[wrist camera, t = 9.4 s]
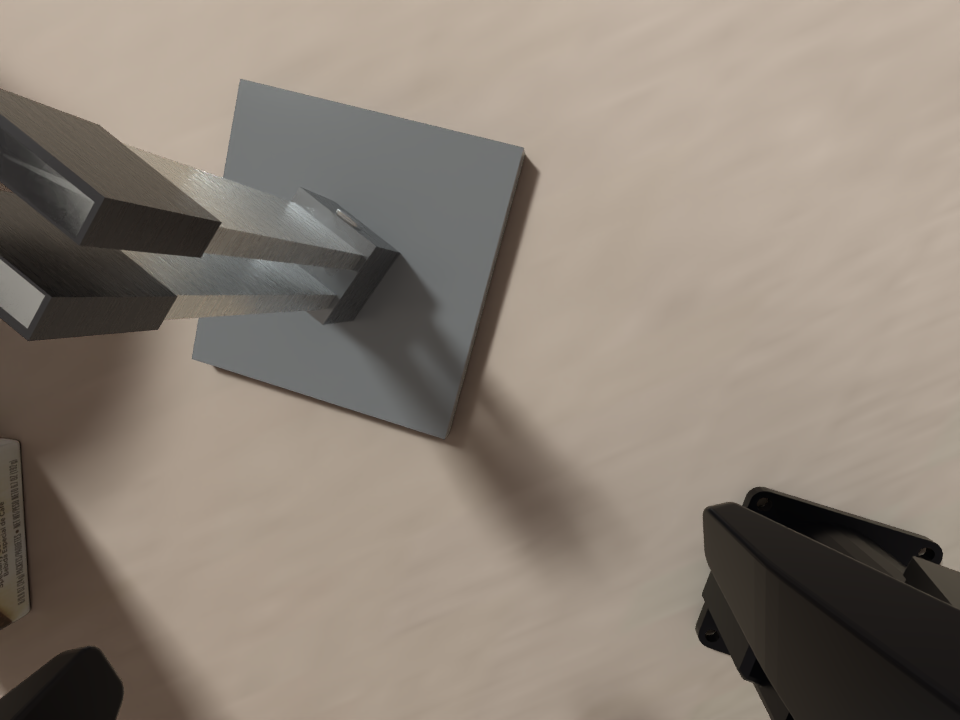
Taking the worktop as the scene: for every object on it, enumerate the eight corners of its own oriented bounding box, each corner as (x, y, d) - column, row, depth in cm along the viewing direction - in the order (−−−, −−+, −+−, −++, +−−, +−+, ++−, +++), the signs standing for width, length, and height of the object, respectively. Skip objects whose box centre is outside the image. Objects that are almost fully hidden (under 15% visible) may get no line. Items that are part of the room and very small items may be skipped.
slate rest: (525, 153, 18) (523, 147, 17) (449, 433, 20) (444, 439, 19) (253, 87, 19) (240, 78, 19) (205, 356, 21) (191, 358, 20)
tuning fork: (401, 250, 18) (125, 173, 7) (351, 323, 19) (20, 368, 7) (335, 198, 19) (-52, 33, 7) (287, 272, 19) (-138, 238, 7)
